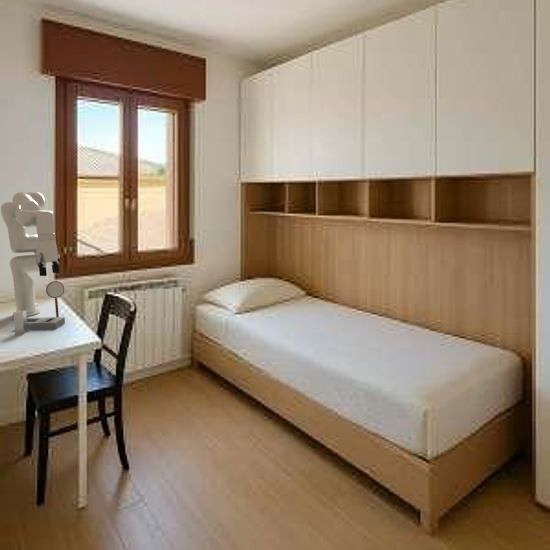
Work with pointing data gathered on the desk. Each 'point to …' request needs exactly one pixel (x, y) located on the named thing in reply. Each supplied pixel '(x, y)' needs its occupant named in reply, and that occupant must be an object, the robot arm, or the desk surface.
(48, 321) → the bore block
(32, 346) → the desk surface
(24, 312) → the square peg
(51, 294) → the magnifying glass
